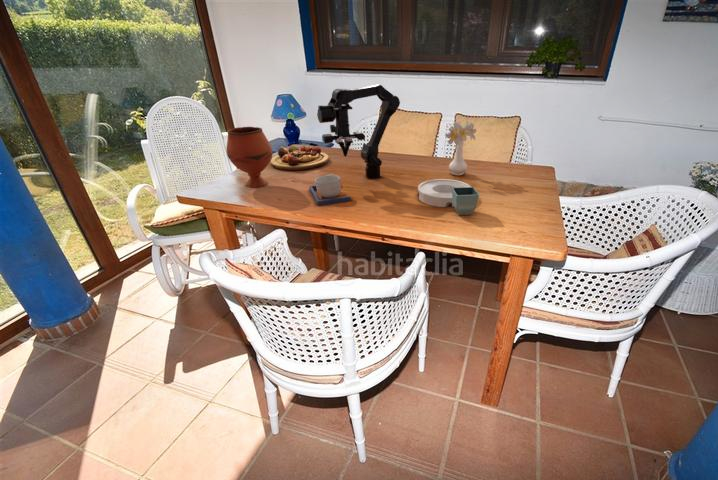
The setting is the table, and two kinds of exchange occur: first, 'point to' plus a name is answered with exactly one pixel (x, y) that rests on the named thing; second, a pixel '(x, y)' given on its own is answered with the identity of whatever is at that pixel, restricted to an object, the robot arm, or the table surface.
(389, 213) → the table surface
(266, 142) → the goblet
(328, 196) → the teacup
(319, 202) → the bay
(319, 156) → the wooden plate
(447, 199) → the ashtray
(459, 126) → the flower vase
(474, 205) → the flower pot
